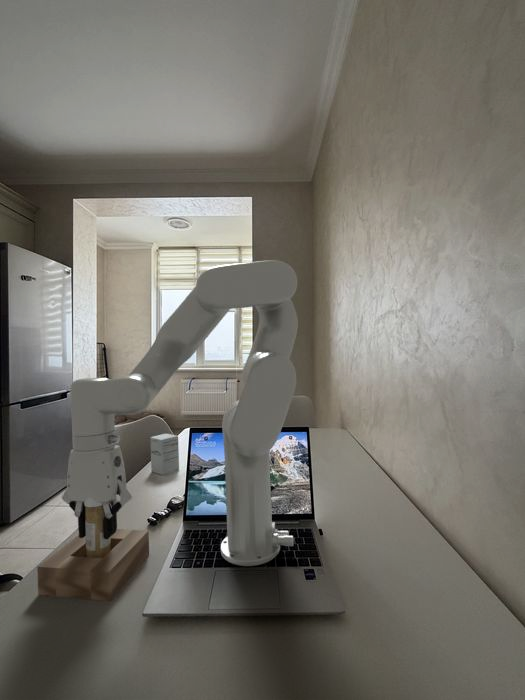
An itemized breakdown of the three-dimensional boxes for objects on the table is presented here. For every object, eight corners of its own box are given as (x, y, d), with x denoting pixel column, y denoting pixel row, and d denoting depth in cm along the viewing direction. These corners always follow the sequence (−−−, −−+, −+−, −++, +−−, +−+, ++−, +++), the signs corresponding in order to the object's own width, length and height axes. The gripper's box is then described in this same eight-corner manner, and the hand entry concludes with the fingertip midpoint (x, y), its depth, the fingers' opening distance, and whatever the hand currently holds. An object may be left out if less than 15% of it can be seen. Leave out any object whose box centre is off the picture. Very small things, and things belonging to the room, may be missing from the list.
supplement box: (150, 471, 128) (149, 436, 128) (168, 466, 133) (166, 432, 133) (162, 475, 123) (161, 439, 123) (180, 470, 128) (178, 435, 128)
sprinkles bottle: (113, 563, 68) (111, 493, 68) (87, 571, 66) (85, 499, 66) (109, 552, 72) (107, 486, 72) (84, 560, 69) (82, 491, 69)
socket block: (149, 554, 74) (148, 530, 74) (110, 601, 61) (109, 571, 61) (89, 550, 77) (88, 527, 77) (38, 594, 63) (37, 566, 63)
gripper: (144, 436, 71) (147, 527, 71) (69, 436, 74) (72, 524, 74) (123, 446, 64) (127, 548, 64) (41, 446, 66) (44, 543, 66)
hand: (98, 534), depth 69 cm, fingers open, 4 cm apart
